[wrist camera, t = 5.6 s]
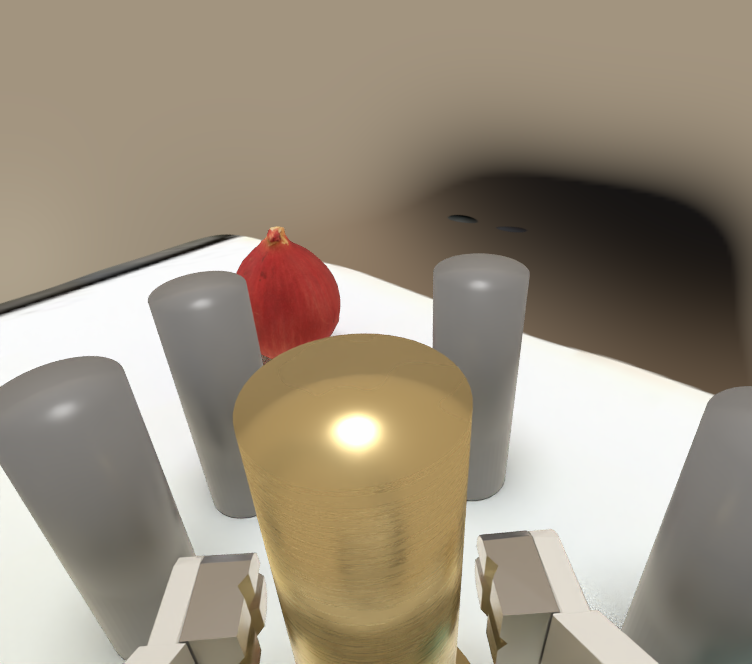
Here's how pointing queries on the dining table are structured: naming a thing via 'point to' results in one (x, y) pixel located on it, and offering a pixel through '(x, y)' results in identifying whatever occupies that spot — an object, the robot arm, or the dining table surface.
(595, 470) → the dining table surface
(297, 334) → the pomegranate
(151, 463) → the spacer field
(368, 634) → the bolt
